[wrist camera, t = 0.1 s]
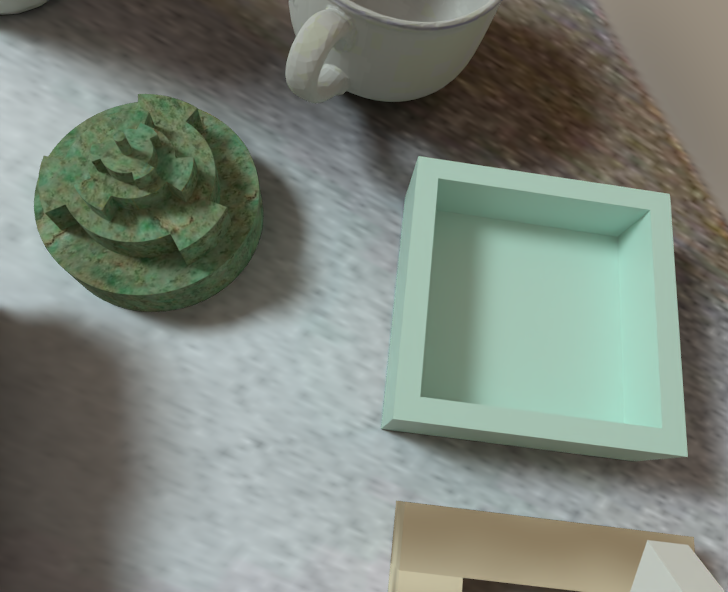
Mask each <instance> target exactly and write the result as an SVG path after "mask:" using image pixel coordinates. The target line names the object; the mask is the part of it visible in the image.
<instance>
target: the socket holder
mask: <svg viewBox="0 0 728 592" xmlns="http://www.w3.org/2000/svg"><path fill="white" fill-rule="evenodd" d="M647 540H651V541H660V542H668V543H677V544H685V545H689V546H690V548H691V549H692V550H693V552H694V553H695V549H694V537H688V536H680V535H672V534H664V533H656V532H648V531H640V530H632V529H623V528H615V527H607V526H599V525H591V524H583V523H574V522H566V521H558V520H550V519H542V518H533V517H525V516H517V515H509V514H501V513H493V512H484V511H476V510H468V509H460V508H452V507H443V506H435V505H427V504H419V503H411V502H403V501H396V509H395V520H394V531H393V542H392V553H391V564H390V575H389V586H388V592H462V584H463V578H470V579H478V580H487V581H495V582H504V583H512V584H521V585H530V586H538V587H547V588H555V589H564V590H573V591H581V592H630V590H631V587H632V584H633V581H634V578H635V575H636V572H637V569H638V566H639V563H640V560H641V557H642V554H643V551H644V548H645V546H646V543H647Z"/></svg>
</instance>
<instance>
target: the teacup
mask: <svg viewBox="0 0 728 592" xmlns="http://www.w3.org/2000/svg"><path fill="white" fill-rule="evenodd" d="M501 1H502V0H289V9H290V16H291V22H292V25H293V29H294V32H295V35H296V38H295V40H294V42H293V44H292V46H291V49H290V52H289V55H288V59H287V63H286V72H285V75H286V81H287V85H288V86H289V88H290V90H291V91H292V92H293V93H294V94H295V95H297V96H298V97H300V98H302V99H304V100H306V101H308V102H311V103H321V102H324V101H326V100H328V99H330V98H332V97H333V96H338V95H342V94H344V93H345V92H346V91H348V92H350V93H352V94H355V95H358V96H361V97H364V98H367V99H372V100H378V101H385V102H401V101H409V100H414V99H418V98H421V97H425V96H427V95H430V94H432V93H434V92H436V91H438V90H440V89H441V88H443V87H445V86H446V85H447V84H448V83H450V82H451V81H452V80H454V79H455V78H456V77H457V76H458V75H459V74H460V72H461V71H462V70H463V69H464V68H465V67H466V65H467V64H468V62H469V61H470V59H471V58H472V57H473V55H474V53H475V51H476V50H477V48H478V46H479V44H480V43H481V41H482V39H483V37H484V35H485V33H486V31H487V29H488V27H489V25H490V24H491V22H492V20H493V18H494V16H495V13H496V11H497V9H498V7H499V5H500V3H501Z"/></svg>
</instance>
